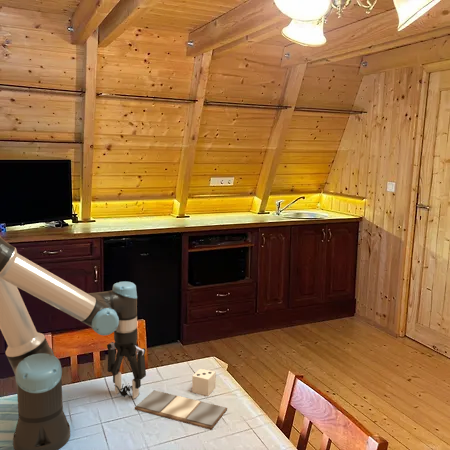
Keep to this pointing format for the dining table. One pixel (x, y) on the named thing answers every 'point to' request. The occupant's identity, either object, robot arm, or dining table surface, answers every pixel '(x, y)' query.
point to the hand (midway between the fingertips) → (127, 394)
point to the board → (182, 409)
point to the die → (203, 382)
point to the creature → (124, 392)
